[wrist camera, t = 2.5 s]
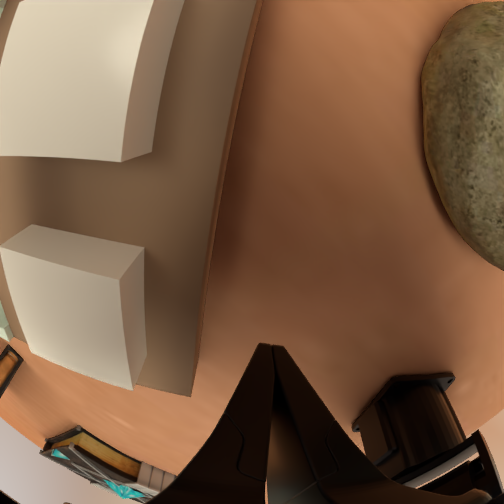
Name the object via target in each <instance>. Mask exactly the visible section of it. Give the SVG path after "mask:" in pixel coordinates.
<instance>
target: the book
mask: <svg viewBox="0 0 504 504" xmlns="http://www.w3.org/2000/svg"><path fill="white" fill-rule="evenodd" d="M45 441H46V443H45V446H44V448H43V451H42V450H40V454H41V455H43V456H44V457H46V458H48V459H50V460H52V461H54V462H56V463H58V464H60V465H62V466H64V467H66V468H67V469H69V470H71V471H73V472H75V473H76V474H78V475H80V476H82V477H84V478H86V479H88V480H89V481H90V484H92V485H95V486H96V487H99V488H101V489H103V490H105V491H107V492H110V493H112V494H114V495H116V496H120V497H121V498H123V499H124V498H129V499H132V500H135V501H138V502H141V503H143V504H144V503H146V502H147V501H149V500H150V499H151V498H153V497H154V496H155V495H157V494H158V493H159V492H161V491H162V490H163V489H165V488H166V487H167V486H168V485H169V484H170V483H171V482H172V481H173V480H174V479H175V478H176V475H173V474H171V473H168V472H166V471H163V470H161V469H158V468H156V467H154V466H152V465H149V464H147V463H145V462H143V461H142V462H140V461H138V460H136V459H134V458H132V457H130V456H127V455H125V454H124V453H122V452H120V451H118V450H117V449H115V448H113V447H111V446H110V445H108V444H106V443H105V442H103V441H102V440H100V439H99V438H97V437H95V436H94V435H92V434H91V433H89V432H87V431H86V430H84V429H83V428H82V427H81V426H80V425H77V427H76V428H74V429H72V430H70V431H68V432H66V433H64V434H61V435H59V436H57V437H54V438H50V439H47V438H46V439H45Z"/></svg>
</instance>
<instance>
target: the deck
mask: <svg viewBox="0 0 504 504" xmlns="http://www.w3.org/2000/svg"><path fill="white" fill-rule="evenodd" d="M21 1H24V0H7V1H6V4H5V6H4V9H3V11H2V14H1V17H0V65H1V60H2V56H3V52H4V48H5V44H6V41H7V37H8V34H9V31H10V28H11V24H12V21H13V19H14V16H15V13H16V10H17V8H18V5H19V2H21ZM262 3H263V0H185V1H184V4H183V7H182V10H181V13H180V17H179V20H178V23H177V27H176V31H175V34H174V38H173V42H172V46H171V50H170V54H169V58H168V62H167V67H166V71H165V76H164V80H163V85H162V90H161V96H160V101H159V107H158V112H157V118H156V125H155V131H154V138H153V146H152V152H150V153H147V154H144V155H141V156H138V157H135V158H132V159H129V160H126V161H123V162H113V161H102V160H90V159H76V158H60V157H36V156H0V245H2V244H3V243H4V242H6V241H7V240H9V239H10V238H12V237H13V236H15V235H16V234H18V233H19V232H21V231H22V230H24V229H25V228H27V227H28V226H30V225H32V224H33V225H38V226H43V227H47V228H52V229H57V230H61V231H66V232H71V233H76V234H81V235H85V236H90V237H95V238H100V239H105V240H110V241H115V242H120V243H125V244H130V245H135V246H140V247H144V309H145V332H146V348H147V356H146V359H145V361H144V364H143V366H142V369H141V372H140V374H139V377H138V380H137V382H136V384H137V385H141V386H145V387H148V388H152V389H156V390H160V391H165V392H169V393H173V394H178V395H183V396H188V397H191V393H192V388H193V383H194V378H195V373H196V369H197V364H198V358H199V349H200V340H201V331H202V323H203V315H204V307H205V300H206V292H207V285H208V278H209V271H210V264H211V257H212V250H213V244H214V237H215V231H216V225H217V218H218V212H219V206H220V200H221V195H222V189H223V183H224V177H225V172H226V166H227V161H228V156H229V150H230V145H231V140H232V135H233V130H234V125H235V120H236V115H237V110H238V105H239V100H240V96H241V91H242V86H243V82H244V77H245V73H246V69H247V64H248V60H249V55H250V51H251V47H252V43H253V39H254V35H255V31H256V27H257V23H258V19H259V15H260V11H261V7H262ZM0 301H1V304H2V307H3V310H4V313H5V316H6V319H7V321H8V324H9V326H10V329H11V331H12V334H13V336H14V337H15V338H17V339H19V340H21V341H23V342H25V343H27V341H26V338H25V336H24V333H23V330H22V328H21V325H20V322H19V319H18V317H17V314H16V311H15V308H14V304H13V301H12V298H11V295H10V291H9V288H8V284H7V280H6V276H5V272H4V268H3V264H2V259H1V254H0ZM27 344H28V343H27Z"/></svg>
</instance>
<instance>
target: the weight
mask: <svg viewBox="0 0 504 504" xmlns="http://www.w3.org/2000/svg"><path fill="white" fill-rule="evenodd" d="M421 83H422V100H423V126H424V150H425V157H426V161H427V164H428V167H429V171H430V173H431V175H432V178H433V181H434V184H435V186H436V188H437V190H438V193H439V196H440V198H441V201H442V203H443V206H444V208H445V209H446V211H447V213H448V215H449V217H450V219H451V221H452V223H453V224H454V226H455V228H456V229H457V231H458V233H459V234H460V235H461V236H462V238H463V239H464V240H465V241H466V243H467V244H468V245H469V246H470V247H471V248H472V249H473V250H474V251H476V252H477V253H478V254H479V255H480V256H481V257H483V258H484V259H485V260H487V261H488V262H489V263H491V264H492V265H494V266H496V267H497V268H499V269H501V270H503V271H504V2H502V1H500V2H482V3H478V4H472V5H469V6H467V7H465V8H463V9H461V10H459V11H457V12H456V13H455V14H454V15H453V16H452V17H451V18H450V20H449V21H448V22H447V23H446V25H445V26H444V28H443V30H442V33H441V36H440V39H439V40H438V41H437V42H436V43H435V44H434V45H433V46H432V48H431V50H430V52H429V54H428V56H427V59H426V62H425V65H424V68H423V70H422V76H421Z"/></svg>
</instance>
